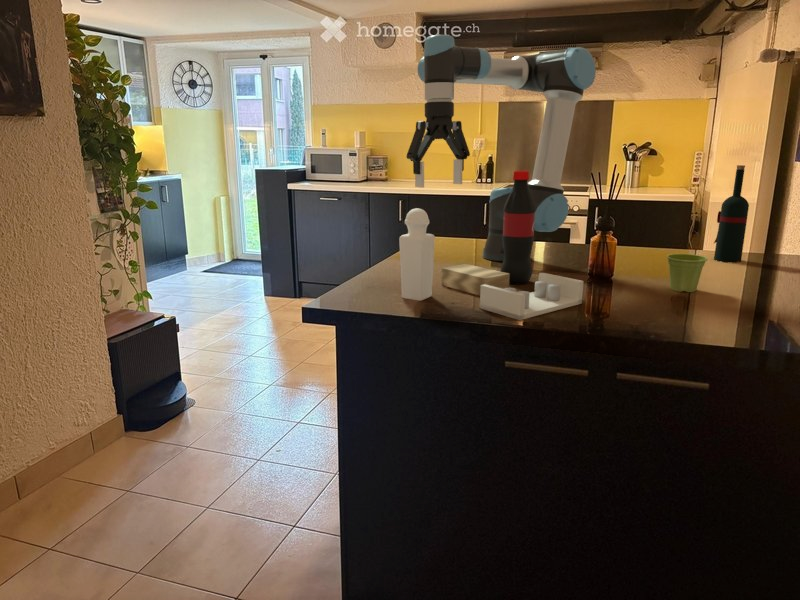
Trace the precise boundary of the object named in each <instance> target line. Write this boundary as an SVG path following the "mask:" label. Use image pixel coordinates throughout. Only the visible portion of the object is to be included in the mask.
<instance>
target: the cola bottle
mask: <svg viewBox="0 0 800 600" xmlns="http://www.w3.org/2000/svg"><path fill="white" fill-rule="evenodd" d="M529 178H530V172H529V171H528V170H515V171H513V177H512V180H513V182H514V183H513V186H512V187H513V188H512V191H511V193H510V194H509V196H508V199H507V201H506V203H505V206H504V223H503V236H502V239H503V248H504V261H502V264H501V268H500V272H505V273H509V274H510V277H509V284H511V285H512V284H513V285H521V284H522V285H523V284H527V283H528V282H529V281H530V280H531V278H532V275H533V265H532V262H531V255H532V250H533V245H534V241H535V235H534V233H535V230H534V220H535V211H536V208H535V205H534V201H533V198H532V196H531V193H530V191H529V188H528V182H529V180H530V179H529Z"/></svg>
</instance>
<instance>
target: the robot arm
mask: <svg viewBox="0 0 800 600" xmlns="http://www.w3.org/2000/svg"><path fill="white" fill-rule="evenodd" d="M423 49H424V50H423V56H422V58H420V60H419V61H418V64H417V74H418V77H419V79H420V80H421V81H422V82H423V83H424V100H425V101H426V102H425V103H424V117H425V119H426V121H425V120H417V121H416V122H415V131H414V134H413V136H412V139H411V143H410V145H409V148H408V150H407V153H406V158H407V159H408V160H409V161H411V162H412V163H413V164H412V168H413V170H412V171H413V175H414V180H415V183H414V184H415V185H414V187H415V188H425V161H422V160H423V159H424V156H425V155H426V153H427V151H428V149H429V148H430V147H431V144H432V143H433V142H434V141H436V140H443V141H445V142H446V144H447V145H448V147H449V149H450V150H451V153H452V154H453V155H454V157H455V158H456V159H455V158H454V159H453V164H452V165H453V172H452V173H453V174H452V175H453V181H452V182H453V183H452V184H454V185H463V172H464V170H465V169H464V167H465V165H464V164H465V160H467V159H468V157H470V155H471V153H470V152H471V151H470V149H469V147H468V143H467V140H466V138H465V135H464V132H463V128H462V127H463V126H462V121H461V120H454V121H453V119H452V118H453V117H454V115H455V103H454V101H453V100H454V99H455V86H454V85H455V84H467V85H469V84H470V85H471V84H472V85H488V86H490V85H493V86H507V87H508V88H510V89H512V90H520V91H521V90H522V91H526V92H527V91H529V92H536V93H542V95H543V97H544V98H545V100H546V104H545V109H544V114H543V119H542V125H541V130H540V135H539V141H538V145H537V146H538V147H537V151H536V156H535V161H534V167H533V172H532V176H531V177H532V178H531V180H530V181H527V182H528V188H529V191H530V193H531V196H532V198H533V201H534V205H535V208H536V211H535V220H534V232H535V231H536V232H540V233H544V232H545V233H547V232H548V233H550V232H551V233H552V232H555V231H557V230H558V229H559V228H560V227H562V226H563V224H564V223H565V222H566V220H567V217H568V215H569V210H570V206H569V203H568V202H569V201H568V199H567V197H566V196H565V195H564V194H565V193H564V191H565V189H564V187H563V186H562V185H561V181H562V175H563V170H564V166H565V161H566V160H565V159H566V155H567V151H568V146H569V145H568V144H569V141H570V140H569V139H570V135H571V131H572V125H573V120H574V115H575V109H576V105H577V103H578V102H580V101H581V100H582V99H583V97H584V91H585V90H587V89H589V88H591V86H592V85H593V84H594V82H595V79H596V71H597V69H596V63H595V60H594V58H593V55H592V54H591V53H590V51H589V50H588V49H587V48H585V47H580V46H579V47H567V48H563V49H557V50H551V51H545V52H541V53H535V54H531V55H523V56H521V55H516V56H514V57H512V58H501V57H491V54H490V53H489V51H488V50H486V49H484V48H480V47H467V46H466V47H465V46H457V45H456V43H455V38H454V36H452V35H449V34H435V35H433V34H432V35H430V36H427V37H426V39H425V40H424V47H423ZM512 188H513V186H511V187H501V188H500V187H499V188H495V189H492V190H491V191H490V196H489V207H488V209H489V210H488V212H489V213H488V235H487V238H486V241H485V244H484V248H483V249H482V258H484V259H486V260H491V261H496V262H497V261H498V262H503V261H504V248H503V239H502V236H503V223H504V206H505V203H506V201H507V199H508V196H509V194H510V193H511V191H512Z"/></svg>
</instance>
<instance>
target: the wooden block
mask: <svg viewBox="0 0 800 600" xmlns="http://www.w3.org/2000/svg"><path fill="white" fill-rule="evenodd" d="M509 277H510V274H509V273H505V272H501V270H494V269H491V268H485V267H481V266H476V265H473V264H468V263H464V264H457V265H451V266H446V267H441V286H443V285H444V287H448V288H451V289H454V290H458V291H462V292H466V293H469V294H474V295H476V296H480V289H481V285H484V284H486V285H490V286H494V287H498V288H502V289H504V288H510V283H509Z"/></svg>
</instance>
